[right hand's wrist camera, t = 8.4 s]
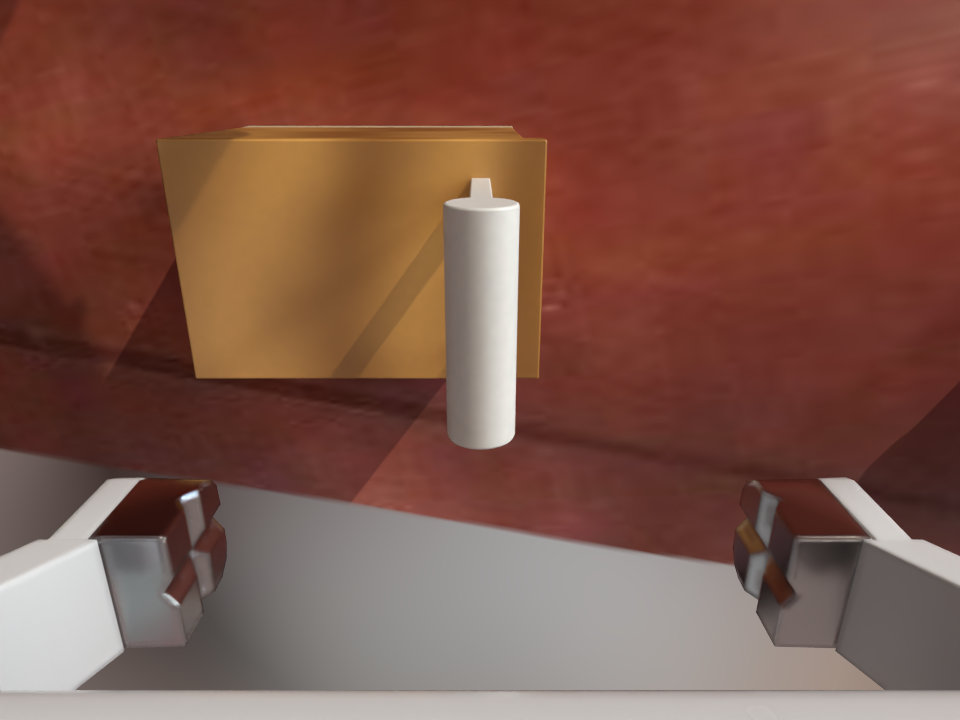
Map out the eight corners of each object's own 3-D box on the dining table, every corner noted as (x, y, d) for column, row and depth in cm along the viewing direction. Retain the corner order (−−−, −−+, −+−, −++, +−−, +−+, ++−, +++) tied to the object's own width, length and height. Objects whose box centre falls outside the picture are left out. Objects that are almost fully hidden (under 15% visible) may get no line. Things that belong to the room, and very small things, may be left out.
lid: (544, 138, 25) (578, 159, 16) (537, 370, 28) (562, 485, 20) (165, 137, 25) (7, 159, 16) (203, 370, 28) (88, 486, 20)
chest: (511, 126, 34) (523, 137, 25) (508, 302, 37) (518, 370, 28) (250, 125, 34) (165, 137, 25) (271, 302, 37) (203, 370, 28)
